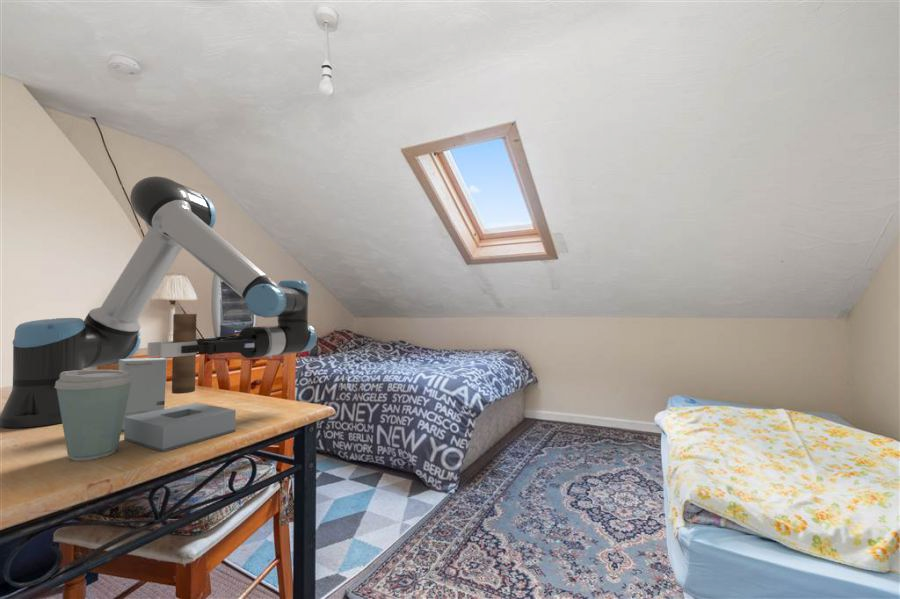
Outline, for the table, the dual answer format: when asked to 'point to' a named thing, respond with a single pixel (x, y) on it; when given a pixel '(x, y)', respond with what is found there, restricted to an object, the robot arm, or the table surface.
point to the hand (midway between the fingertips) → (155, 350)
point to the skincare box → (145, 385)
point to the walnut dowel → (184, 364)
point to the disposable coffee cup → (92, 411)
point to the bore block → (179, 426)
